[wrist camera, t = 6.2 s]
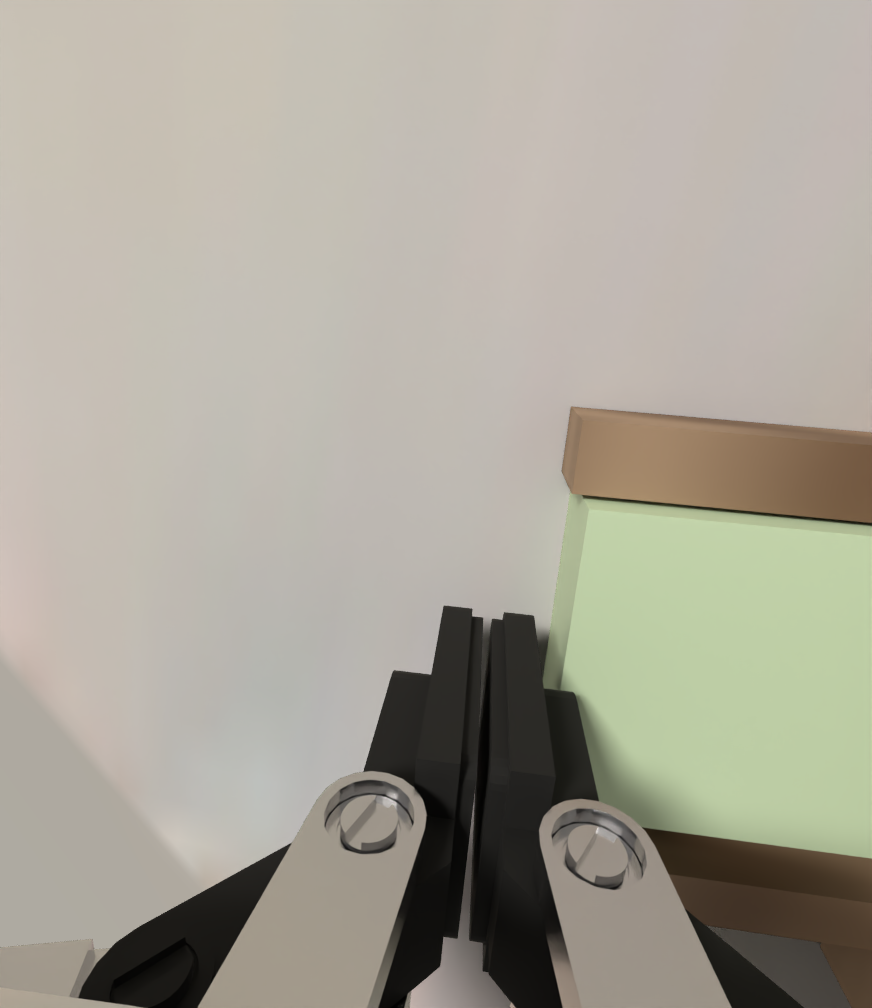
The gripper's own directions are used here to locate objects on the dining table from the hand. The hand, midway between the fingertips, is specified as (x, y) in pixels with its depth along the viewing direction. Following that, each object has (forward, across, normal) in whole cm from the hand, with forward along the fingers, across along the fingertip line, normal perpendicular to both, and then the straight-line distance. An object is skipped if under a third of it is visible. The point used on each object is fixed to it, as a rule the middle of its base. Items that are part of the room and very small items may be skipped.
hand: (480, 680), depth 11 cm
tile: (+2, -7, -1) cm, 7 cm away
